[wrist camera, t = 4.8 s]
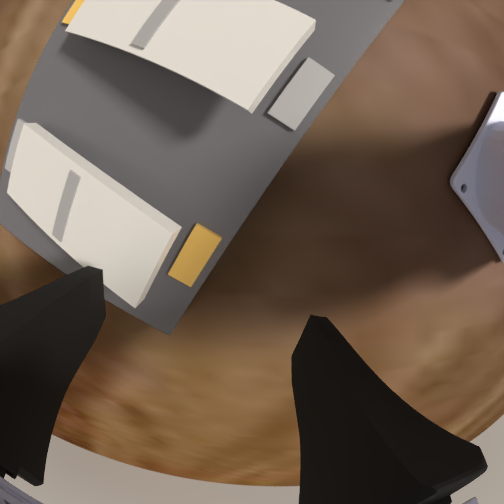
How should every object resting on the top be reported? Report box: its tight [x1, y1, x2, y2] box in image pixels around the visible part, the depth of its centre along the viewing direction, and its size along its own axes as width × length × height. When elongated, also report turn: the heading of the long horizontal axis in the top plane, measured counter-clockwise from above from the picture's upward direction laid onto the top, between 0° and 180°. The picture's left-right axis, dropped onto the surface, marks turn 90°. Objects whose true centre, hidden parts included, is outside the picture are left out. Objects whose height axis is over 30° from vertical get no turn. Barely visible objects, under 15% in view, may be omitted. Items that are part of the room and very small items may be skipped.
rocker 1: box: [7, 123, 182, 308], centre depth 9 cm, size 9×4×1 cm, turn 57°
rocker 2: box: [65, 0, 316, 114], centre depth 6 cm, size 9×4×1 cm, turn 57°
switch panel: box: [0, 0, 404, 336], centre depth 9 cm, size 13×26×2 cm, turn 147°
